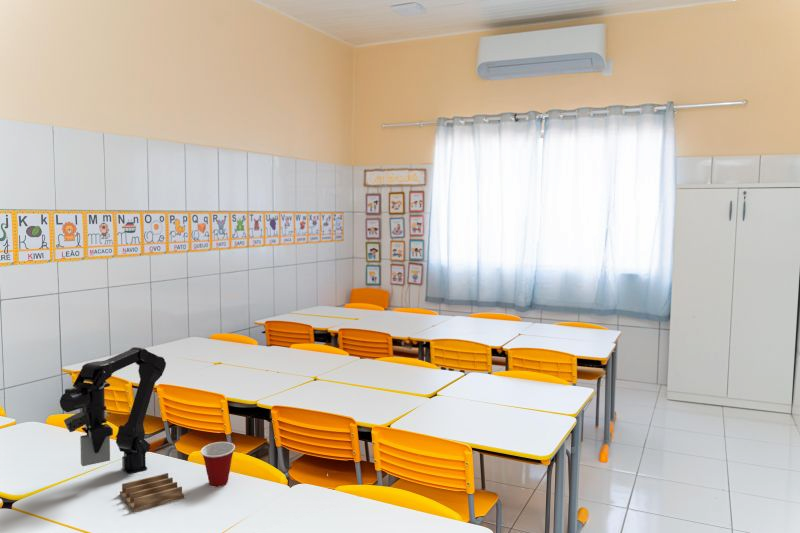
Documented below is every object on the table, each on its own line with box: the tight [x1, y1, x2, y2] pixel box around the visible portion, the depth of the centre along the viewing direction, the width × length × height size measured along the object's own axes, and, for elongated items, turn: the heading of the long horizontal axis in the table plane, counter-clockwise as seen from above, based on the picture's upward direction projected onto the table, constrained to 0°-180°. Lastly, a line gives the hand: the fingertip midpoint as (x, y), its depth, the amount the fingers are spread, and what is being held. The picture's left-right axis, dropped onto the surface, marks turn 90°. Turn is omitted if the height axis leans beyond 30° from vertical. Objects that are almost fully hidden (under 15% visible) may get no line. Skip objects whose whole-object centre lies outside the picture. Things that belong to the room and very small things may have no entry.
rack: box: [119, 472, 185, 513], centre depth 193 cm, size 15×14×4 cm
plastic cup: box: [200, 441, 236, 488], centre depth 203 cm, size 11×11×12 cm
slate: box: [79, 434, 111, 467], centre depth 198 cm, size 8×2×9 cm, turn 129°
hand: (95, 451), depth 198 cm, fingers closed on slate, 2 cm apart
